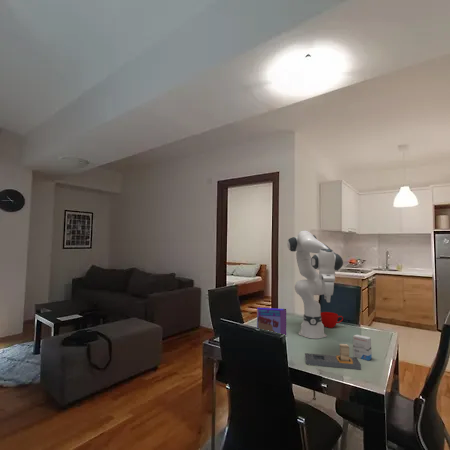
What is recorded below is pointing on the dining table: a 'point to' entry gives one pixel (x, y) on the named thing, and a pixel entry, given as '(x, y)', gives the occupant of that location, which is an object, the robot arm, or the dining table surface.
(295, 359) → the dining table surface
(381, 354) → the dining table surface
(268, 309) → the cereal box
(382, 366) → the dining table surface
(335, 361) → the rail
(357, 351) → the ink box
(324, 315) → the ceramic cup
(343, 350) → the peg
